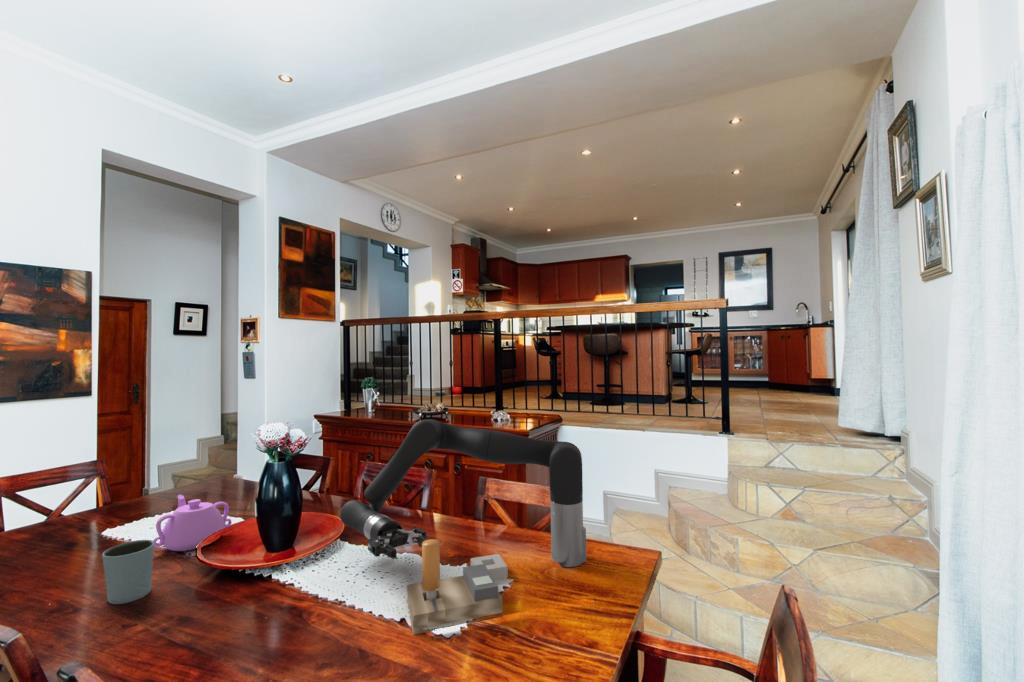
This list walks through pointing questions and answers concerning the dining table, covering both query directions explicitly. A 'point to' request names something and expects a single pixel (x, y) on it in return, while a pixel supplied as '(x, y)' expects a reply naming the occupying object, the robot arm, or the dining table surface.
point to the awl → (430, 567)
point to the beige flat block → (448, 605)
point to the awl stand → (492, 565)
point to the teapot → (190, 524)
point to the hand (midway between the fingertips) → (411, 549)
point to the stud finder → (480, 582)
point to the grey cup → (128, 571)
